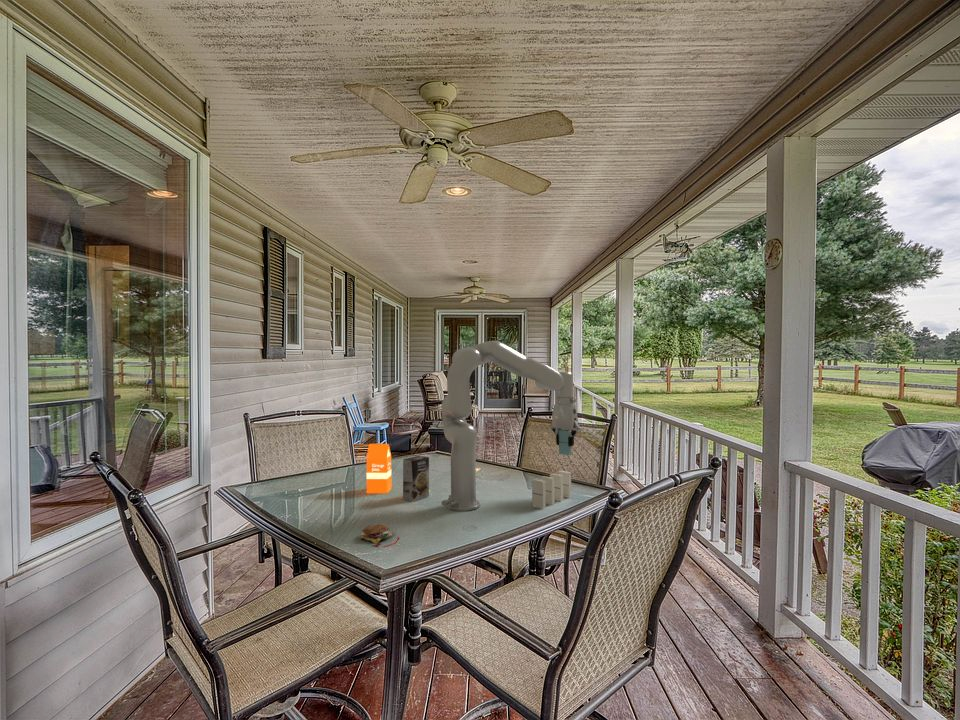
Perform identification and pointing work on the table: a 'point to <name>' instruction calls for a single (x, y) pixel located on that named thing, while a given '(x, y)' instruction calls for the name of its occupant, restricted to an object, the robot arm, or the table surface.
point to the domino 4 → (564, 443)
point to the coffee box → (415, 478)
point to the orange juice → (378, 468)
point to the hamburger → (376, 534)
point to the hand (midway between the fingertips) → (565, 444)
